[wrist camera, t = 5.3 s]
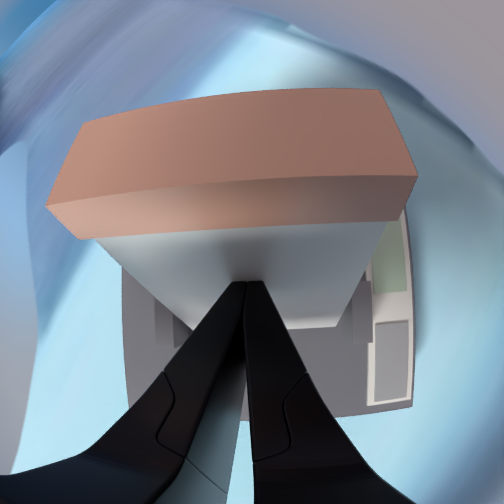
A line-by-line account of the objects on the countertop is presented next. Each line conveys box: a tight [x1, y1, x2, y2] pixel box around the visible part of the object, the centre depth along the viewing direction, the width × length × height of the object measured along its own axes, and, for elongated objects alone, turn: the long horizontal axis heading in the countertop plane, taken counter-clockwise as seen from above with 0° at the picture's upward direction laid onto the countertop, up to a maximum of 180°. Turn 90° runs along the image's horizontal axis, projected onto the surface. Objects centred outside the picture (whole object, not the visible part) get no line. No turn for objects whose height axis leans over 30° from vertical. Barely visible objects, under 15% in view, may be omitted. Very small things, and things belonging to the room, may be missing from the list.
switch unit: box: [122, 207, 415, 421], centre depth 14 cm, size 10×14×5 cm
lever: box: [45, 88, 418, 330], centre depth 9 cm, size 2×6×10 cm, turn 92°
